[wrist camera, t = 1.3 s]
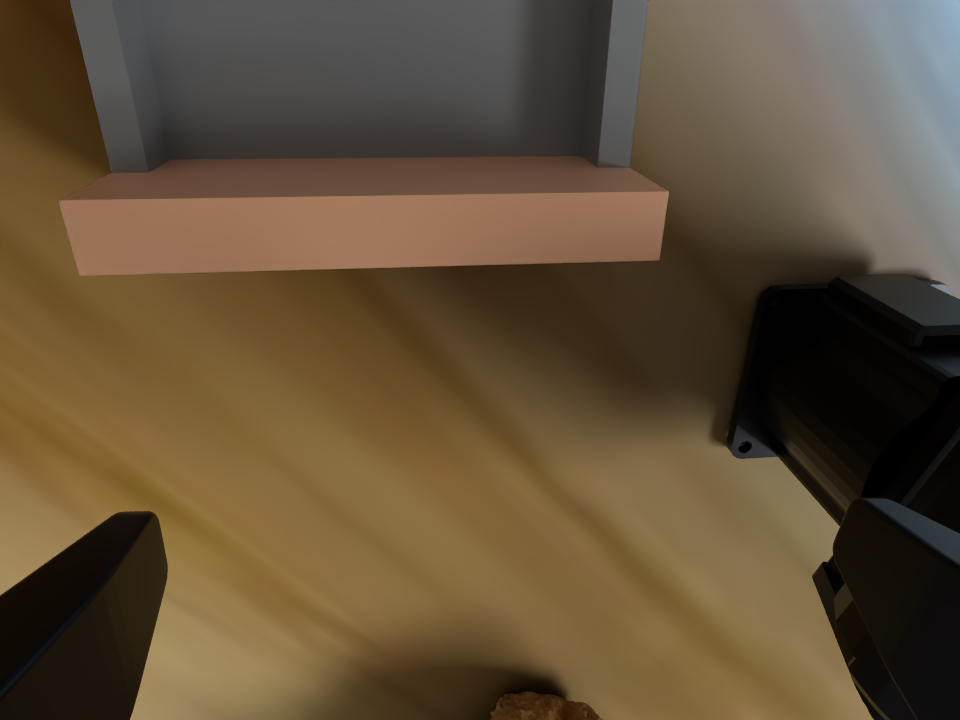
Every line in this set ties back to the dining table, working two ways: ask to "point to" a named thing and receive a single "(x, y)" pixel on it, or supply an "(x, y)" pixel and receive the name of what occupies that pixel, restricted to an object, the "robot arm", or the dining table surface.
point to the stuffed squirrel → (540, 708)
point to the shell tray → (362, 135)
